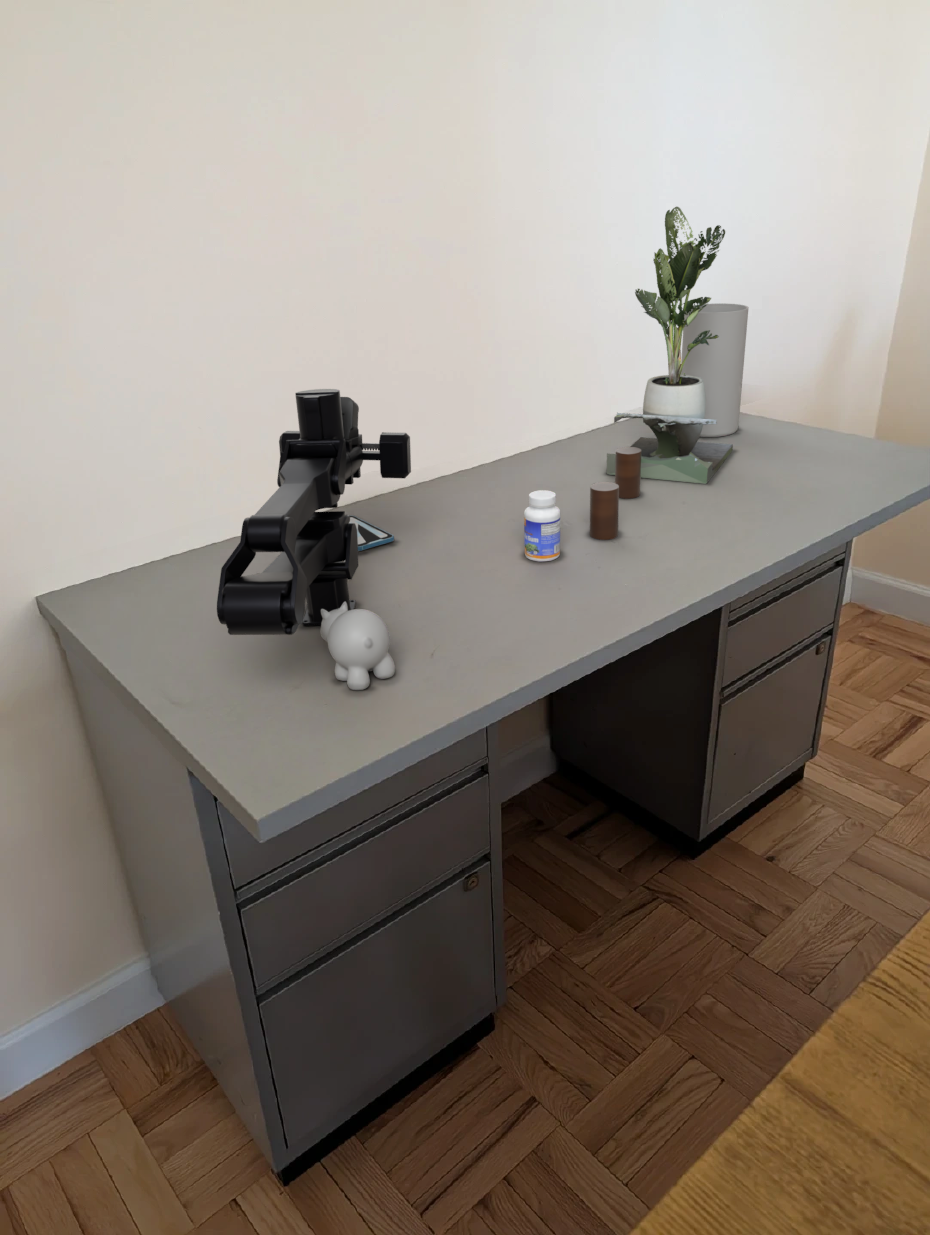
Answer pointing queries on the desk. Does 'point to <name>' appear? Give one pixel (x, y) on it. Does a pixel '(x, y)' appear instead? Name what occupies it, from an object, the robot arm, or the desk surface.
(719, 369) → the cylinder vase
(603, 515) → the near peg
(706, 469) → the potted plant
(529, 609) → the desk surface
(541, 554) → the pill bottle
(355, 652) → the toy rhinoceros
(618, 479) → the far peg
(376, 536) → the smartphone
